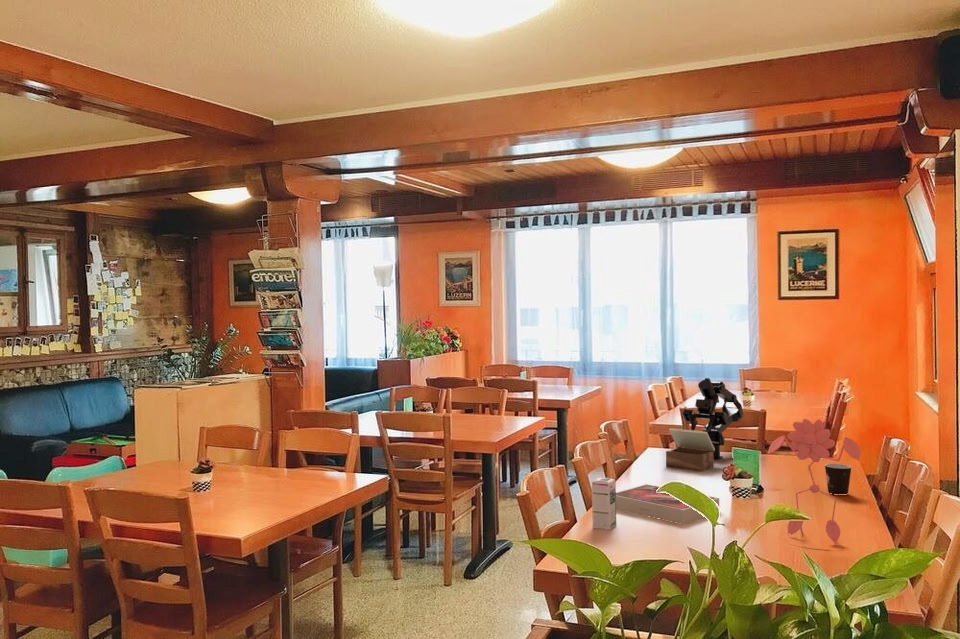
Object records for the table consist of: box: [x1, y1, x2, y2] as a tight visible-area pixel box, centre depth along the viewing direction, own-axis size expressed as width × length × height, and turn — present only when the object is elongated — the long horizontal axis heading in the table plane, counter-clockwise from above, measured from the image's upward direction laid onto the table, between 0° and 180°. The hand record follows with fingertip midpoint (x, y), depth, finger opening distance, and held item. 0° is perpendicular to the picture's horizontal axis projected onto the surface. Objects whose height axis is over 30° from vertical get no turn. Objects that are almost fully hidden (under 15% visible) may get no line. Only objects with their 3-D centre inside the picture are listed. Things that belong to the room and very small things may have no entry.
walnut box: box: [665, 447, 715, 472], centre depth 320 cm, size 12×16×6 cm
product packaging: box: [616, 483, 720, 525], centre depth 250 cm, size 22×28×5 cm
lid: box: [668, 427, 715, 451], centre depth 321 cm, size 12×17×1 cm
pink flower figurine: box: [767, 418, 861, 552], centre depth 214 cm, size 15×26×35 cm, turn 49°
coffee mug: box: [824, 463, 852, 494], centre depth 269 cm, size 12×9×10 cm
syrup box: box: [591, 477, 617, 531], centre depth 230 cm, size 6×6×14 cm
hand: (699, 431), depth 327 cm, fingers open, 6 cm apart
